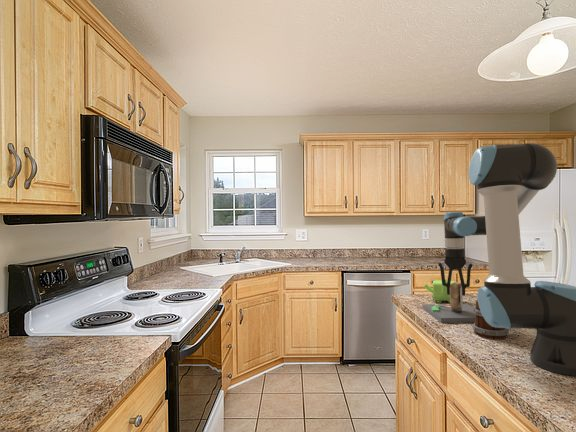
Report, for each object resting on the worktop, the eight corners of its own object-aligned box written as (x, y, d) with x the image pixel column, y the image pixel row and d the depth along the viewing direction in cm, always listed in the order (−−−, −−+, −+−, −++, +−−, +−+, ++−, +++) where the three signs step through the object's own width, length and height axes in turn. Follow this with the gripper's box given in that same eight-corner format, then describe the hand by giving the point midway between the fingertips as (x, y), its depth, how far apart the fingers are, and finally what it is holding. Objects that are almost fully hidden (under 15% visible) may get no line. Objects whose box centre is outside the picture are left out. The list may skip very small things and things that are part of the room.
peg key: (464, 310, 150) (463, 282, 150) (459, 313, 145) (458, 285, 145) (437, 306, 158) (437, 280, 158) (432, 309, 153) (431, 282, 153)
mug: (462, 329, 131) (467, 290, 131) (495, 332, 134) (499, 293, 134) (485, 340, 119) (491, 296, 120) (520, 343, 122) (525, 300, 123)
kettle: (468, 302, 170) (467, 280, 170) (446, 306, 165) (446, 283, 165) (443, 296, 184) (443, 275, 184) (423, 300, 178) (422, 278, 178)
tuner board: (492, 322, 140) (491, 315, 140) (441, 323, 141) (440, 316, 141) (466, 307, 161) (466, 301, 161) (422, 308, 163) (422, 302, 163)
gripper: (476, 247, 149) (478, 302, 149) (434, 246, 156) (436, 299, 156) (476, 249, 142) (478, 306, 142) (433, 248, 150) (434, 303, 150)
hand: (456, 302), depth 149 cm, fingers closed on peg key, 3 cm apart
